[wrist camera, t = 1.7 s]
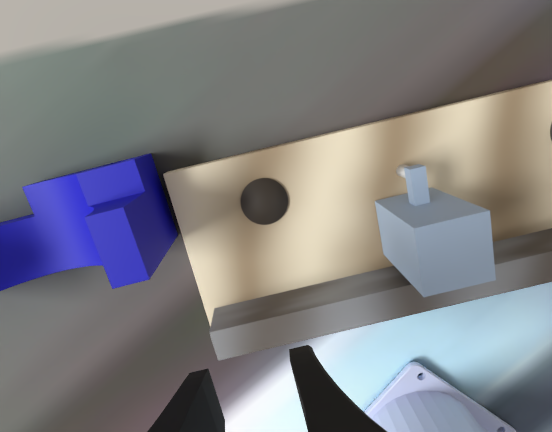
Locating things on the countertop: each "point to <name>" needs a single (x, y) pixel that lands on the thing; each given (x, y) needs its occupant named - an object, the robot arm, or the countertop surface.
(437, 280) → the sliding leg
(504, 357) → the countertop surface
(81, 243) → the cable clip
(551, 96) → the board
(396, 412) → the robot arm
